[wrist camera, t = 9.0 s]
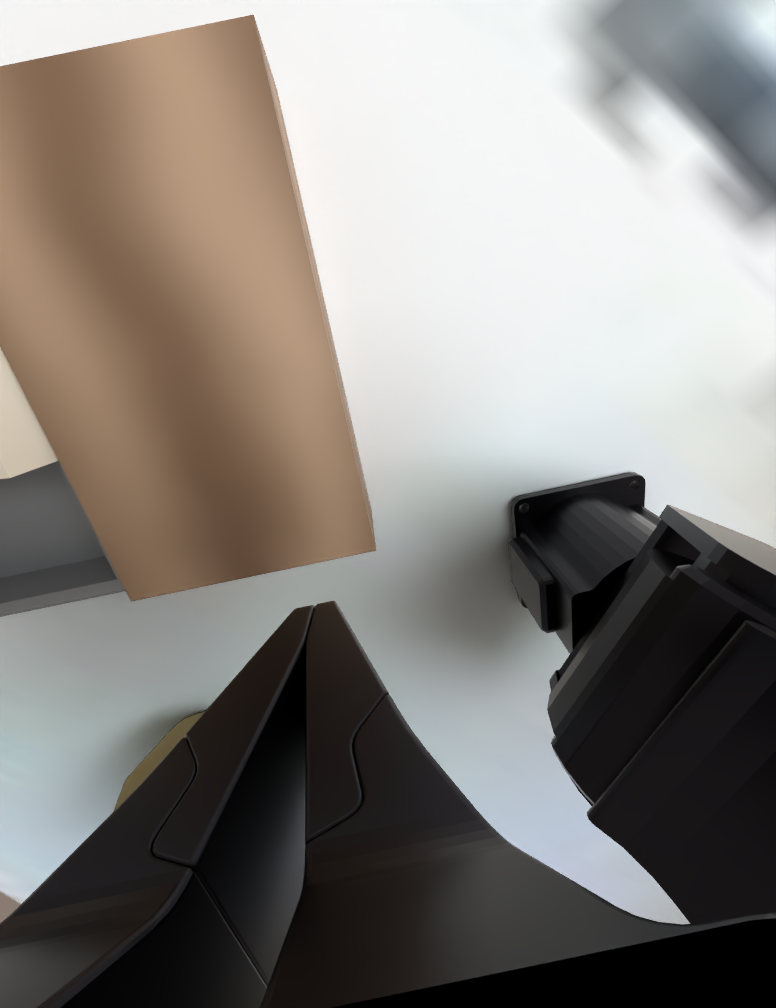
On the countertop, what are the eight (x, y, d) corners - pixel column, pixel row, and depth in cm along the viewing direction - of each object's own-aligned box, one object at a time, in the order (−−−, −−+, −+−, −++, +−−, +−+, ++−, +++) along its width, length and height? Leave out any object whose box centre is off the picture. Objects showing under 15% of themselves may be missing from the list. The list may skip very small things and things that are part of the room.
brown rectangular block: (277, 89, 15) (253, 15, 11) (371, 510, 21) (376, 550, 18) (-13, 148, 15) (-131, 92, 11) (168, 552, 21) (131, 601, 18)
